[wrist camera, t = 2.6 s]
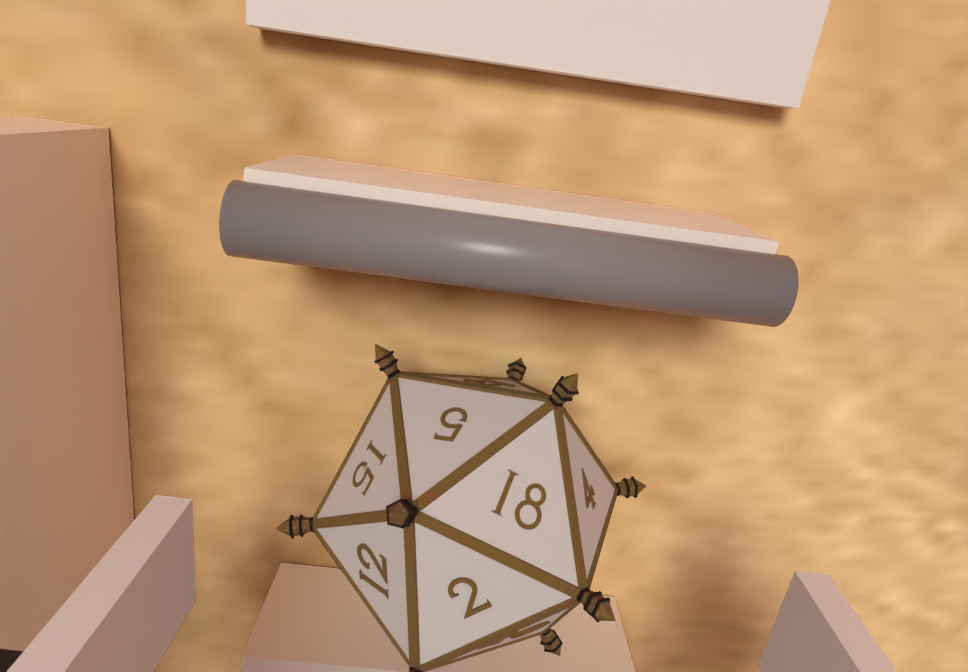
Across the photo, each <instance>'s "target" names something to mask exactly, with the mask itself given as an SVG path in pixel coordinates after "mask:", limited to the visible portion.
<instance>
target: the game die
mask: <svg viewBox="0 0 968 672" xmlns="http://www.w3.org/2000/svg"><path fill="white" fill-rule="evenodd" d="M375 351H376V360H375V361H374V362H375V363H378V365H379V366H380V368H379V369H380V371H383V372H384V373H385V374H386V375H387V376H388V379H387V381H386V383H385V385H384V386H383V388H382V390H381V392H380V394H379V396H378V398H377V400H376V401H375V403H374V405H373V407H372V409H371V411H370V413H369V414H368V416H367V418H366V420H365V422H364V424H363V426H362V427H361V429H360V431H359V433H358V435H357V437H356V439H355V441H354V442H353V444H352V446H351V448H350V450H349V452H348V454H347V455H346V457H345V459H344V461H343V463H342V465H341V467H340V469H339V470H338V472H337V474H336V476H335V478H334V480H333V482H332V483H331V485H330V487H329V489H328V491H327V493H326V495H325V497H324V498H323V500H322V502H321V504H320V506H319V508H318V510H317V511H316V513H315V515H314V517H311V518H308V517H303V515H300V517H293V515H291V516H290V518H289V519H288V520H286V521H285V522H284V523H282V524H281V525H279V526H278V527H277V528H275V529H277V530H279V531H281V532H283V533H285V534H287V535H290V536H291V538H294V536H298V535H301V537H303V535H304V534H306V533H308V532H310V531H311V532H314V533H315V534H316V535H317V537H318V538H319V540H320V541H321V542H322V544H323V545H324V547H325V548H326V550H327V551H328V552H329V554H330V555H331V557H332V558H333V559H334V561H335V562H336V564H337V565H338V567H339V568H340V569H341V571H342V572H343V574H344V575H345V576H346V578H347V579H348V581H349V582H350V584H351V585H352V586H353V588H354V589H355V591H356V592H357V593H358V595H359V596H360V598H361V599H362V601H363V602H364V603H365V605H366V606H367V608H368V609H369V611H370V612H371V613H372V615H373V616H374V618H375V619H376V620H377V622H378V623H379V625H380V626H381V628H382V629H383V630H384V632H385V633H386V635H387V636H388V637H389V639H390V640H391V642H392V643H393V645H394V646H395V647H396V649H397V650H398V652H399V653H400V654H401V656H402V657H403V659H404V660H405V662H406V663H407V664H408V666H409V672H427V671H430V670H433V669H436V668H439V667H442V666H445V665H448V664H451V663H455V662H458V661H461V660H464V659H467V658H470V657H473V656H476V655H479V654H483V653H486V652H489V651H492V650H495V649H498V648H501V647H504V646H508V645H511V644H514V643H517V642H520V641H523V640H526V639H529V638H532V637H536V636H539V635H540V637H541V641H540V644H541V645H543V646H544V652H551V653H553V654H555V655H558V656H560V653H561V645H562V644H563V643H562V641H561V639H560V638H559V636H558V635H557V634H556V632H555V630H554V629H553V630H552V629H551V627H552V626H554V625H555V624H556V623H557V622H558V621H560V620H561V619H562V618H563V617H564V616H566V615H567V614H568V613H569V612H570V611H572V610H573V609H574V608H575V607H576V606H578V605H579V604H580V603H582V604H583V606H584V607H583V609H584V610H585V611H586V612H587V613H588V614H589V615H591V616H592V617H593V618H594V619H595V620H596V621H597V622H598V623H599V622H600V621H616V620H615V617H614V614H613V611H612V608H611V605H610V598H609V597H607V598H605V597H603V596H602V593H601V592H600V591H599V592H593V591H590V586H591V583H592V579H593V576H594V572H595V569H596V566H597V562H598V559H599V555H600V552H601V548H602V545H603V542H604V538H605V535H606V531H607V528H608V525H609V521H610V518H611V514H612V511H613V507H614V504H615V501H616V497H617V496H619V495H622V496H625V497H626V498H629V496H633V497H635V498H637V495H638V494H639V493H640V492H641V491H642V490H643V489H644V488H645V487H646V485H644V484H643V483H641V482H639V481H637V480H635V479H634V477H631V478H630V479H627V480H626V478H623V480H622V481H621V482H618V483H615V482H614V480H613V479H612V477H611V476H610V475H609V473H608V472H607V470H606V469H605V467H604V466H603V464H602V463H601V461H600V460H599V458H598V457H597V455H596V454H595V452H594V451H593V449H592V448H591V446H590V445H589V443H588V442H587V441H586V439H585V438H584V436H583V435H582V433H581V432H580V430H579V429H578V427H577V426H576V424H575V423H574V421H573V420H572V418H571V417H570V415H569V414H568V412H567V411H566V409H565V408H564V406H563V403H565V402H567V401H572V400H573V399H572V397H573V396H574V395H575V394H577V395H578V394H579V392H578V390H577V381H578V374H574V375H571V376H567V377H563V376H561V378H560V379H559V381H558V382H557V383H556V385H555V386H554V388H553V390H552V391H553V394H552V395H548V394H546V393H544V392H542V391H539V390H537V389H535V388H533V387H530V386H528V385H526V384H524V383H521V382H519V380H522V377H523V374H524V373H525V370H526V367H525V366H524V364H523V361H522V359H521V358H520V359H518V360H517V361H515V362H514V363H511V364H508V366H509V370H507V374H508V378H496V377H481V376H466V375H450V374H435V373H419V372H404V371H400V370H399V369H398V367H397V361H398V360H397V359H395V358H394V356H393V354H392V353H394V352H393V351H389V350H387V349H385V348H383V347H381V346H379V345H377V344H375Z"/></svg>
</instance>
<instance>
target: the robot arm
mask: <svg viewBox="0 0 968 672" xmlns="http://www.w3.org/2000/svg"><path fill="white" fill-rule="evenodd" d="M195 601H196V595H195V564H194V532H193V501H192V499H188V498H180V497H171V496H163V495H155V496H154V497H153V499H152V500H151V501H150V502H149V503H148V504H147V506H146V507H145V508H144V509H143V510H142V512H141V513H140V514H139V515H138V516H137V518H136V519H135V520H134V521H133V522H132V523H131V525H130V526H129V527H128V528H127V529H126V531H125V532H124V533H123V534H122V535H121V536H120V538H119V539H118V540H117V541H116V542H115V544H114V545H113V546H112V547H111V548H110V550H109V551H108V552H107V553H106V554H105V555H104V557H103V558H102V559H101V560H100V561H99V563H98V564H97V565H96V566H95V567H94V569H93V570H92V571H91V572H90V573H89V574H88V576H87V577H86V578H85V579H84V580H83V582H82V583H81V584H80V585H79V586H78V587H77V589H76V590H75V591H74V592H73V593H72V595H71V596H70V597H69V598H68V599H67V601H66V602H65V603H64V604H63V605H62V606H61V608H60V609H59V610H58V611H57V612H56V614H55V615H54V616H53V617H52V618H51V620H50V621H49V622H48V623H47V624H46V625H45V627H44V628H43V629H42V630H41V631H40V633H39V634H38V635H37V636H36V637H35V639H34V640H33V641H32V642H31V643H30V644H29V646H28V647H27V648H26V649H25V650H24V651H17V650H8V649H0V672H154V671H155V669H156V667H157V666H158V664H159V662H160V660H161V659H162V657H163V655H164V654H165V652H166V650H167V649H168V647H169V645H170V643H171V642H172V640H173V638H174V637H175V635H176V633H177V631H178V630H179V628H180V626H181V625H182V623H183V621H184V619H185V618H186V616H187V614H188V613H189V611H190V609H191V608H192V606H193V604H194V602H195ZM759 666H760V668H761V670H762V672H897V670H896V669H895V668H894V666H893V665H892V663H891V662H890V661H889V659H888V658H887V656H886V655H885V654H884V652H883V651H882V649H881V648H880V647H879V645H878V644H877V642H876V641H875V640H874V638H873V637H872V635H871V634H870V632H869V631H868V630H867V628H866V627H865V625H864V624H863V623H862V621H861V620H860V618H859V617H858V616H857V614H856V613H855V611H854V610H853V609H852V607H851V606H850V604H849V603H848V602H847V600H846V599H845V597H844V596H843V595H842V593H841V592H840V590H839V589H838V587H837V586H836V585H835V583H834V582H833V580H832V579H831V578H830V576H829V575H823V574H815V573H806V572H798V571H795V572H794V575H793V578H792V580H791V583H790V585H789V588H788V590H787V593H786V595H785V598H784V600H783V603H782V606H781V608H780V611H779V613H778V616H777V618H776V621H775V623H774V626H773V628H772V631H771V634H770V636H769V639H768V641H767V644H766V646H765V649H764V651H763V654H762V656H761V659H760V662H759Z"/></svg>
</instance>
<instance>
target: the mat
mask: <svg viewBox="0 0 968 672" xmlns="http://www.w3.org/2000/svg"><path fill="white" fill-rule="evenodd" d="M829 4H830V0H246V24H247V25H250V26H253V27H255V28H258V29H264V30H270V31H277V32H284V33H290V34H297V35H303V36H310V37H317V38H323V39H330V40H336V41H343V42H349V43H356V44H363V45H369V46H376V47H382V48H389V49H396V50H402V51H409V52H415V53H422V54H429V55H435V56H442V57H448V58H455V59H462V60H468V61H475V62H481V63H488V64H495V65H501V66H508V67H514V68H521V69H528V70H534V71H541V72H547V73H554V74H561V75H567V76H574V77H580V78H587V79H594V80H600V81H607V82H613V83H620V84H627V85H633V86H640V87H646V88H653V89H660V90H666V91H673V92H679V93H686V94H693V95H699V96H706V97H712V98H719V99H726V100H732V101H739V102H745V103H752V104H759V105H765V106H772V107H778V108H799V106H800V102H801V99H802V96H803V92H804V89H805V85H806V82H807V79H808V75H809V72H810V68H811V65H812V62H813V58H814V55H815V51H816V48H817V45H818V41H819V38H820V34H821V31H822V28H823V24H824V21H825V17H826V14H827V10H828V7H829Z"/></svg>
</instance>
